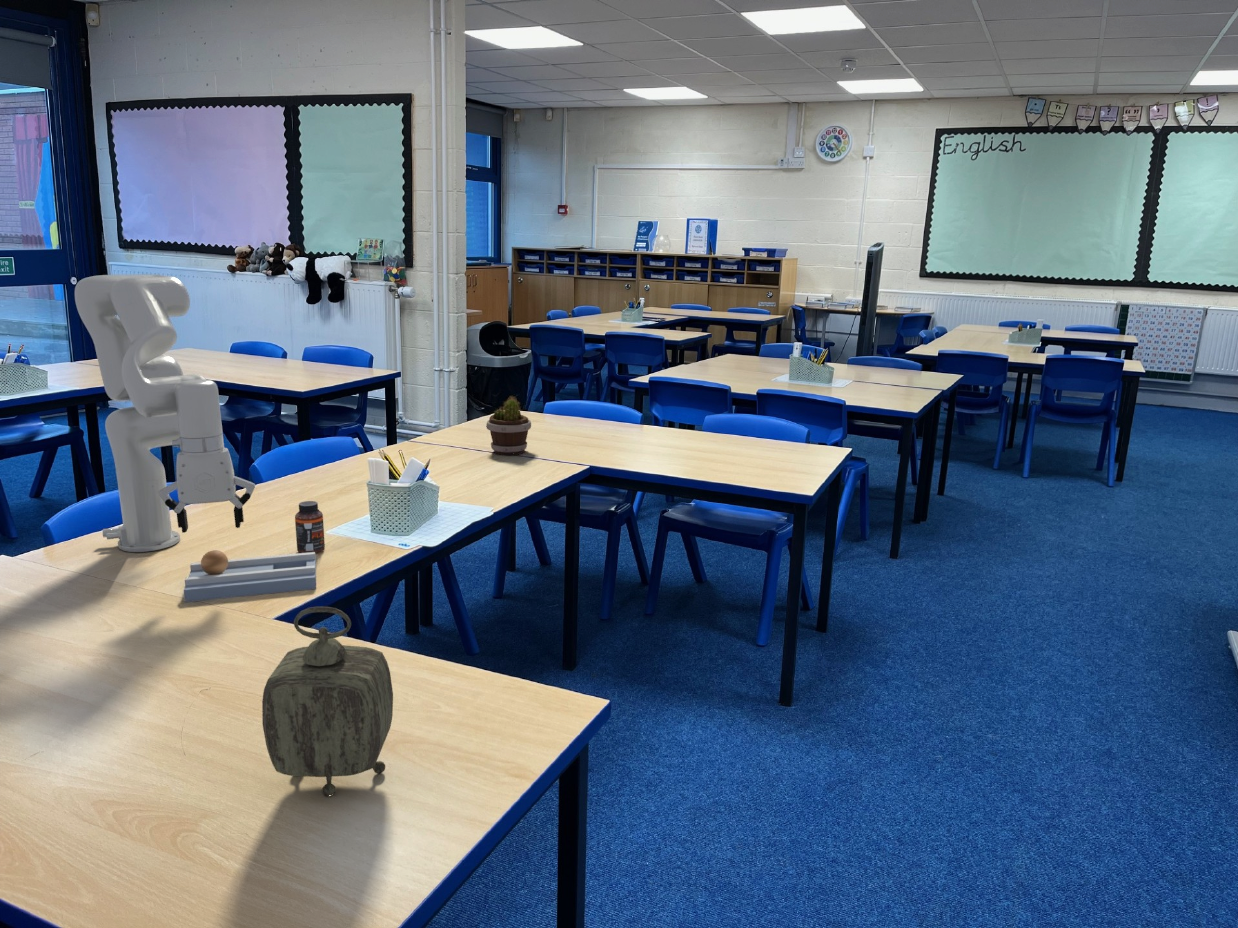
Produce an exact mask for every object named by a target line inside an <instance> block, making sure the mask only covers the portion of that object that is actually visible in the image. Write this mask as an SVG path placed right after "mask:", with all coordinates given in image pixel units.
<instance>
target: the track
mask: <svg viewBox="0 0 1238 928" xmlns="http://www.w3.org/2000/svg"><path fill="white" fill-rule="evenodd" d="M316 559H317V558H316V554H315V552H310V553H299V552H298V553H291V554H290V553H289V554H279V555H277V554H275V555H268V556H255V557H254V556H253V557H244V558H231V559H228V566H227V568H226V570H225V571H224V572H223V573H221V574H219V575H209V574H207V573H205V572H204V571H203V569H202V567H201V561H199V562H190V565H189V566H190V567H189V568H190V572H189V575H188V577H185V579H184V588H183V595H184V598H183V599H184V603H189V602H199V601H200V602H201V601H209V600H219V599H229V598H230V599H231V598H238V597H239V598H240V597H249V596H259V595H269V594H279V593H287V592H289V593H290V592H299V591H309V590H316V589H317V560H316Z"/></svg>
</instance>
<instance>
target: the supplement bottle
mask: <svg viewBox="0 0 1238 928" xmlns="http://www.w3.org/2000/svg"><path fill="white" fill-rule="evenodd" d="M294 523H295V539H296V550H297V552H298V554H299V553H310V552H315V555H317V554H318V555H319V554H320V553H322V552H323V551H324V550H325V545H326V543H325V528H324V527H325V526H324V514H323V512H322V511H321V510H320V509H319V503H318V502H317V501H314V500H306V501H301V502H300V503H298V512H296V513H295V516H294Z"/></svg>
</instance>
